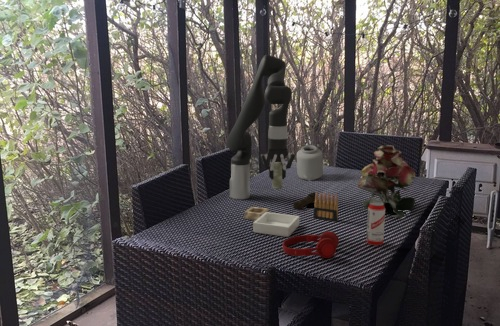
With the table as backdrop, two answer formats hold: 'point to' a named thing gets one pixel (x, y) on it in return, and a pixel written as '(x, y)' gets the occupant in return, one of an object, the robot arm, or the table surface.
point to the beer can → (375, 223)
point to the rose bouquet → (388, 180)
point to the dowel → (277, 176)
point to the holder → (254, 213)
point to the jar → (309, 163)
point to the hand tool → (305, 201)
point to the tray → (276, 224)
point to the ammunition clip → (326, 208)
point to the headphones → (323, 248)
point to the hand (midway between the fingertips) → (277, 178)
